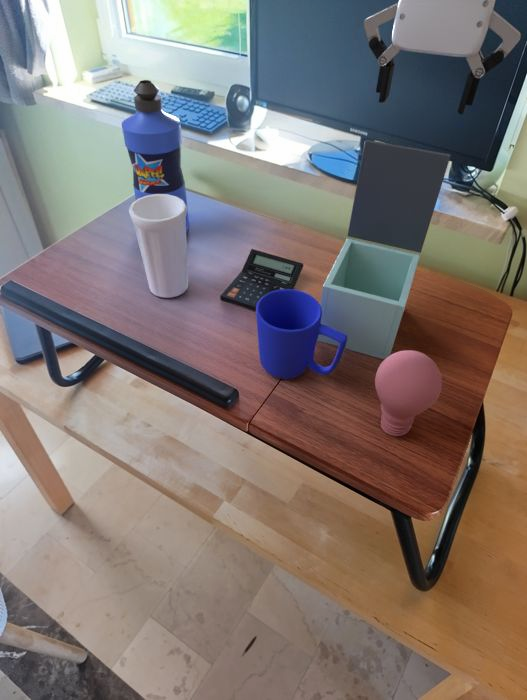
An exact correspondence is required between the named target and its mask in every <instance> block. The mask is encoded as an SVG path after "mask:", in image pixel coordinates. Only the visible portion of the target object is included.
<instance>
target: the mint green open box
mask: <svg viewBox="0 0 527 700" xmlns="http://www.w3.org/2000/svg"><path fill="white" fill-rule="evenodd" d="M420 256H421V254H418V253H416V252H411V251H407V250H406V251H405V250H401V249H397V248H396V249H395V248H392V247H388V246H383V245H379V244H376V243H375V244H374V243H372V242H371V243H370V242H366V241H361V240H357V239H354V238H350V237H347V238H346V240H345V242H344V244H343V246H342V248H341V249H340V252H339V254H338V256H337V258H336V259H335V262H334V263H333V265H332V268H331V270H330V271H329V273H328V275H327V277H326V279H325V281H324V283H323V285H322V290H321V295H320V303H319V304H320V306H321V309H322V317H321V324H322V325H326V326H329V327H331V328H333V329H336V330H338V331H340V332H342V333H344V334H346V335H347V337H348V338H347V342H346V346H345V349H346V350H347V351H353V352H356V353H358V354H363V355H366V356H370V357H373V358H377V359H381V360H383V361H384V360H385V359H386V358H387V357H388V356H390V355H392V351H393V347H394V344H395V341H396V337H397V335H398V331H399V328H400V324H401V321H402V318H403V315H404V311H405V310H406V305H407V301H408V298H409V295H410V291H411V288H412V285H413V281H414V278H415V274H416V271H417V267H418V263H419V260H420V258H421V257H420ZM317 342H321V343H324V344H327V345H328V344H329V345H332V346H335V347H337V348H338V347H339V342H338V341H336V340H334V339H332V338H330V337H327V336H325V335H319V336H318V339H317ZM345 349H344V350H345Z"/></svg>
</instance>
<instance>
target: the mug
mask: <svg viewBox="0 0 527 700" xmlns="http://www.w3.org/2000/svg"><path fill="white" fill-rule="evenodd" d="M255 315H256V317H255V318H256V328H257V342H258V343H257V344H258V355H259V361H260V364H261V366H262V368H263V369H264V371H265V372H266V373H267V374H269V375H270V376H272V377H273V378H274V377H275V378H277V379H282V380H291V379H294V378H297V377H300V376H301V375H302V374H303V373H304V372H306V371H307V369H308V368H309V369H310V370H311V371H313V372H314V373H316V374H318V375H321V376H327V375H329V374H332V372H334V371H335V369H336V368H337V367H338V365H339V363H340V361H341V359H342V357H343V354H344V352H345V346H346V342H347V338H348V337H347V335H346V334H344V333H342V332H340V331H338V330H336V329H333V328H331V327H329V326H326V325H322V324H321V317H322V309H321V306H320V303H319V301H318V300H317V299H316V298H315V297H314V296H312V295H311V294H309V293H307V292H305V291H301V290H299V289H298V290H297V289H293V290H292V289H281V290H276V291H272V292H270V293H268V294H266V295H264V296H263V297H262V298H261V299H260V300H259V302H258V304H257V306H256V311H255ZM319 335H325V336H327V337H330V338H332V339H334V340H336V341H338V342H339V347H338V346H337V351H336V354H335V357H334V359H333V362H332V363H331V364H330V365H329V366H322V365H320V364H318V363H317V362H315V358H314V357H315V356H314V355H315V351H316V346H317V342H318V341H317V339H318V336H319Z"/></svg>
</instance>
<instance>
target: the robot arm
mask: <svg viewBox="0 0 527 700" xmlns="http://www.w3.org/2000/svg"><path fill="white" fill-rule="evenodd" d="M495 3H496V0H398V2H397V3H394V4H392V5H390V6H388V7H386V8H384V9H382V10H379V11H378V12H376V13H373V14H372V15H370V16H368V17H366V18H365V19H364V20H363V27H364V31H365V34H366V38H367V41H368V47H369V49H370V51H371V52H372V54H373V55H374V57H375V59H376V60H377V63H378V64H377V65H378V66H379V69H378V70H379V71H378V76H377V83H376V88H375V93H376V94H377V93H378V94H379V97H378V103H380V104H381V103H382V104H384V103H385V102H386V101H387V100H388V98H389V96H390V92H391V86H392V81H393V76H394V71H395V64H396V63H395V61H394V58H395V57H396V55H398V54H399V53H400V52H401V51H406V52H413V53H420V54H421V53H422V54H430V55H437V56H446V57H454V58H455V57H456V58H465V60H466V61H467V63H468V66H469V68H470V72H468V74H467V78H466V81H465V85H464V88H463V90H462V94H461V97H460V102H459V105H458V109H457V113H458V114H459V115H464V113H465V109H466V106H470V107H471V106H473V103H474V101H475V100H474V99H475V97H476V94H477V90H478V87H479V83H480V81H481V78H482V77H484V75H485V74H487V73H488V72H490V71H491V70H493V69H494V68H495V67H496V66H498V65H500V64H501V63H502V62H503V61H504V60H505V58H506V57H507V56H508V55H509V54H510V53H511V51H512V50H513V49H514V48H515V46H517V44H518V43H519V42H520V40H521V37H522V36H521V32H520V31H519V30H518V29H517V28H515V27H514V26H513V25H512V24H510V23H509V21H507V20H506V19H505V18H504V17H503V16H501V15H500V14H499V13H498V12H496V11H495V10H494V8H495ZM392 20H393V21H394V22H393V28H392V33H391V42H392V43H391V44H390V45H389V46H387V45H386V43H385V42H384V40H383V38H382V37H381V34H380V29H379V27H380V26H381V25H384V24H385V23H387V22H390V21H392ZM489 29H490V30H491V31H493V32H494V33H495V34H496V35H497V36H499V38H500V39H502V42H501V43H500V44H499V45H498V47H497V48H496V49H495V50H494V51H492V52H491V53H490V54H488V55H487V56H486V57H484V55H483V53H482V51H481V49H482V46H483V43H484V42H485V38H486V36H487V33H488V30H489Z"/></svg>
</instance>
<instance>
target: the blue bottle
mask: <svg viewBox="0 0 527 700" xmlns="http://www.w3.org/2000/svg"><path fill="white" fill-rule="evenodd" d="M133 92H134V94H136V95H135V96H134V97H133V101H134V102H133V103H134V108H135V110H136V111H135V113H134V114H132V115H130V116H128V117H126V118H124V120H122V122H121V129H122V136H123V140H124V146H125V147H126V150H127V154H128V157H129V160H130V163H131V164H130V165H131V167H132V182H133V183H132V185H133V192H134V197H135V201H136V200H137V199H139V198H142V197H144V196H147V195H154V194H168V195H172V196H176V197H178V198H180V199H181V200H183V201H184V203H185V205H186V206H187V207H188V201H187V190H186V181H185V177H184V174H183V170H182V143H183V139H182V127H181V126H182V125H181V121H180V119H179V118H178V117H176V116H174V115H172V114H169V113H166V112H165V111H164V110H162V109H163V99H162V96H161V95H160V94H158V93H159V92H160V88H159V87H158V86H157V85H156V84H155V83H154V82H153V81H151V80H149V79H142V80H140V81H138V83H137V85H136V86H135V87H134V89H133ZM188 211H189V210H188V208H187V212H186V218H185V219H186V233H187V232H189V231H188V230H189V229H190V222H189V221H190V220H189V213H188Z"/></svg>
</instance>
